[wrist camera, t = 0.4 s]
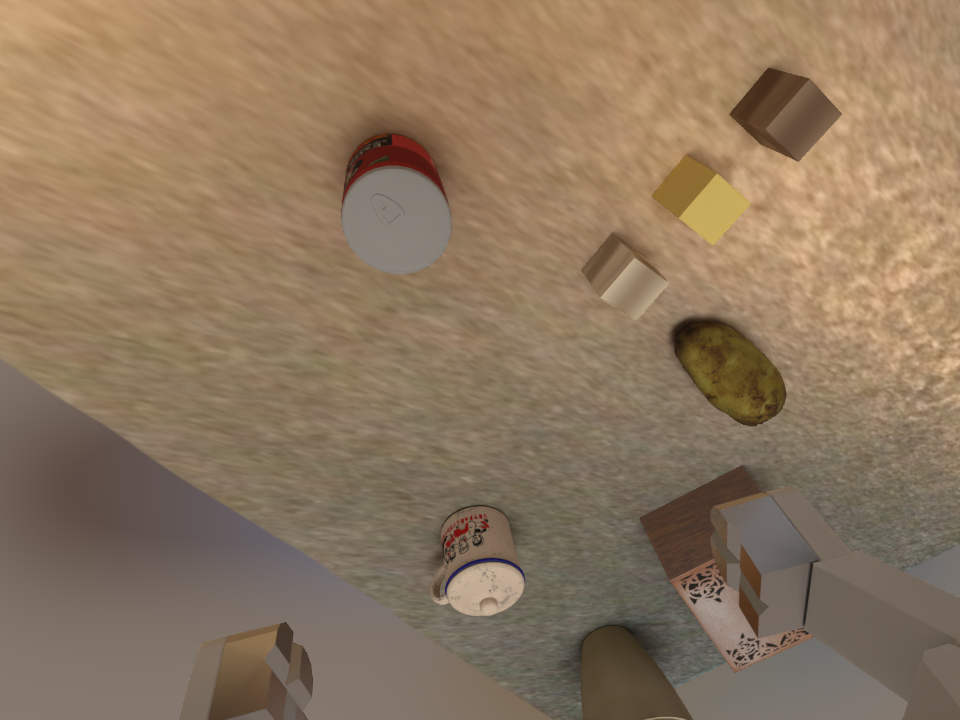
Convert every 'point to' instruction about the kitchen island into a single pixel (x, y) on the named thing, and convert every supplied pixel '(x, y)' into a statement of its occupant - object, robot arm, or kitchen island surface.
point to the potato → (731, 372)
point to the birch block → (624, 277)
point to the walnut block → (785, 113)
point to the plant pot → (624, 680)
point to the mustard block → (701, 199)
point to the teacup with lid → (478, 563)
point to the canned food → (395, 205)
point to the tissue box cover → (711, 570)
